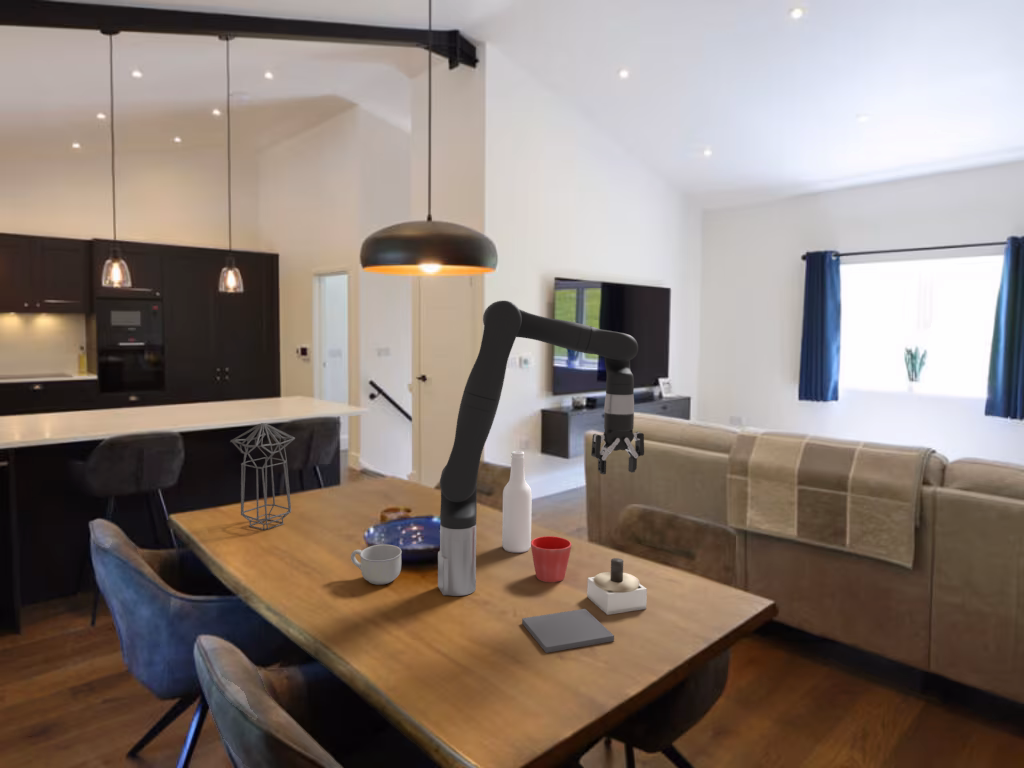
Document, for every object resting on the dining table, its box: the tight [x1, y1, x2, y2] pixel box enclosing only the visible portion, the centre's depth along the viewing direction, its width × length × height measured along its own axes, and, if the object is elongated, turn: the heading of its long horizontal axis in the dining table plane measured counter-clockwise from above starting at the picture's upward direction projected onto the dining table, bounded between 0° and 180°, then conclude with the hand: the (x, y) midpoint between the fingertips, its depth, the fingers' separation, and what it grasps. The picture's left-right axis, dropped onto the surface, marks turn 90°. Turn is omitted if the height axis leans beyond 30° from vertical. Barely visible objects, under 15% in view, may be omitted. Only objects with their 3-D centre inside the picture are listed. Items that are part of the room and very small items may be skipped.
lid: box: [593, 557, 640, 593], centre depth 156 cm, size 11×11×6 cm
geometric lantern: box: [229, 422, 296, 531], centre depth 212 cm, size 16×16×35 cm
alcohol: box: [501, 450, 533, 554], centre depth 194 cm, size 9×9×30 cm
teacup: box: [350, 544, 403, 586], centre depth 169 cm, size 14×11×8 cm
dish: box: [586, 576, 648, 616], centre depth 157 cm, size 11×11×5 cm
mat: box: [521, 608, 615, 654], centre depth 141 cm, size 16×14×1 cm
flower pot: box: [530, 535, 572, 583], centre depth 172 cm, size 11×11×10 cm
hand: (617, 472), depth 165 cm, fingers open, 8 cm apart
